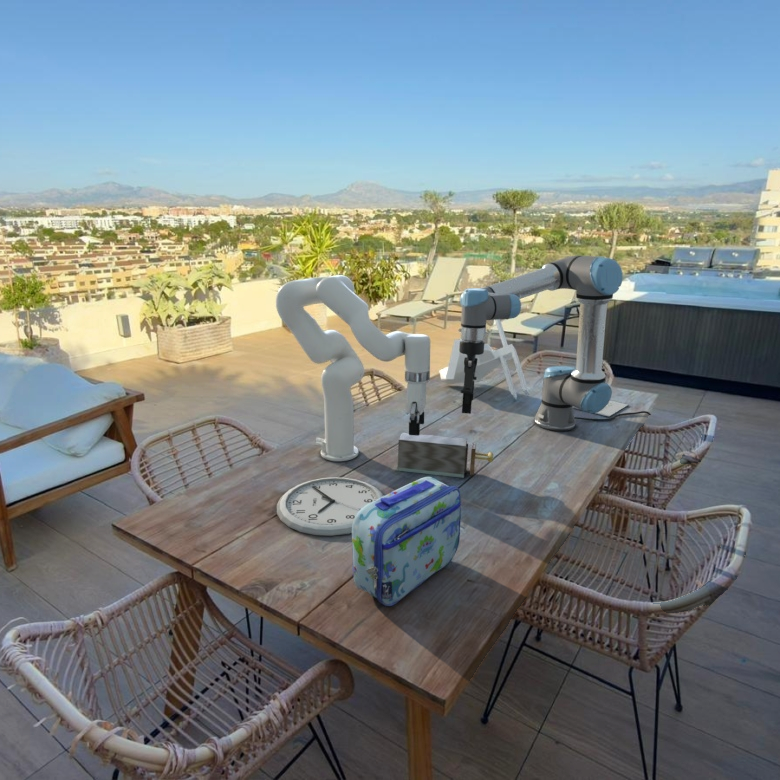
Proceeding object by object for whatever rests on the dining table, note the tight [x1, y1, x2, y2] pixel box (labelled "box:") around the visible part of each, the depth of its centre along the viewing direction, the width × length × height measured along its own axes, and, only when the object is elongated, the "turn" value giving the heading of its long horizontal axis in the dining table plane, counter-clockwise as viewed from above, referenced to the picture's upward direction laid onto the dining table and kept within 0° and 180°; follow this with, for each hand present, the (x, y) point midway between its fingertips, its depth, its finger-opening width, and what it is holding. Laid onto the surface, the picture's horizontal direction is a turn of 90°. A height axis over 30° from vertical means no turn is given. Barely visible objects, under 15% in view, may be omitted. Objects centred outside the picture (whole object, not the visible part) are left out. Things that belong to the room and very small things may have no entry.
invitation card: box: [573, 400, 629, 418], centre depth 226 cm, size 21×1×15 cm
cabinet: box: [397, 432, 468, 479], centre depth 163 cm, size 21×6×10 cm, turn 78°
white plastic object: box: [438, 319, 531, 400], centre depth 245 cm, size 37×45×31 cm
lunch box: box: [351, 476, 462, 607], centre depth 111 cm, size 26×11×21 cm, turn 135°
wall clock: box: [276, 476, 385, 537], centre depth 142 cm, size 30×2×30 cm
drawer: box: [464, 442, 494, 476], centre depth 162 cm, size 25×5×9 cm, turn 78°
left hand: (416, 429), depth 162 cm, fingers open, 9 cm apart
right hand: (467, 406), depth 166 cm, fingers open, 13 cm apart
